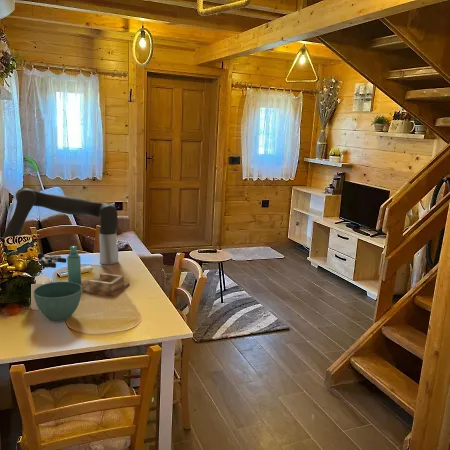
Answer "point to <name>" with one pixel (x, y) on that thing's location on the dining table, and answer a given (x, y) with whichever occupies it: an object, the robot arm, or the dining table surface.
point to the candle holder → (39, 281)
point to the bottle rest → (107, 285)
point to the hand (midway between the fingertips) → (60, 263)
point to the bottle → (74, 266)
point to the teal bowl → (58, 299)
